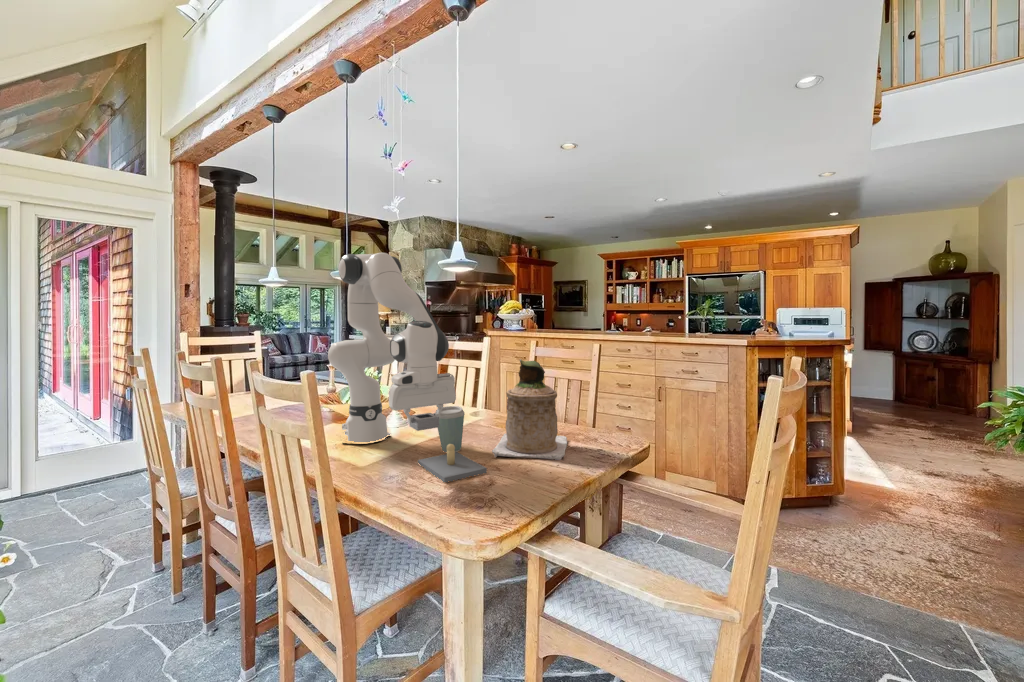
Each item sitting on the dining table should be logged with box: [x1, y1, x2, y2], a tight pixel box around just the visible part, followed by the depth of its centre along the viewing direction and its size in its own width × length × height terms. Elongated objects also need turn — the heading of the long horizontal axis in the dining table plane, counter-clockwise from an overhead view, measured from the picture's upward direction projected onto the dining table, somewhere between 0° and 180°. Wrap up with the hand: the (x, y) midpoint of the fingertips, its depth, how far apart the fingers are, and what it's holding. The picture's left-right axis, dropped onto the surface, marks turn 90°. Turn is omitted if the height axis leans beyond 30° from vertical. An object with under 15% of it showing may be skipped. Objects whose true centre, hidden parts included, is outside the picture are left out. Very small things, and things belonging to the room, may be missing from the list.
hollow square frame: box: [408, 412, 439, 432], centre depth 141 cm, size 7×7×3 cm
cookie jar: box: [491, 358, 568, 461], centre depth 164 cm, size 25×25×32 cm
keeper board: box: [417, 444, 488, 483], centre depth 146 cm, size 20×14×8 cm
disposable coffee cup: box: [435, 405, 465, 453], centre depth 164 cm, size 11×11×15 cm
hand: (424, 421), depth 141 cm, fingers closed on hollow square frame, 7 cm apart
